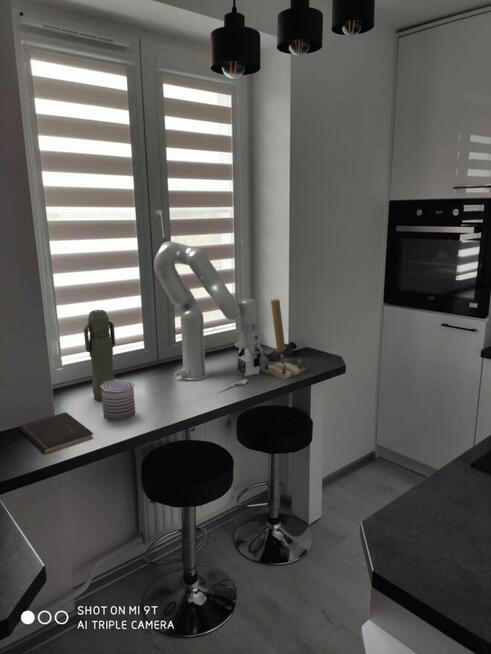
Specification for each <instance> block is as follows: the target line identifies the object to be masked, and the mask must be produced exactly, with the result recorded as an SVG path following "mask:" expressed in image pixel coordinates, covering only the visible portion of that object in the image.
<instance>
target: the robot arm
mask: <svg viewBox="0 0 491 654" xmlns="http://www.w3.org/2000/svg"><path fill="white" fill-rule="evenodd" d="M176 263H177V264H181V265H185V266H189V269H191V271H192V273H193V274H194V275H195V277H196V278H197V280H198V281H199V283H200V284H201V286H202V287H203V288H204V290H205V291H206V293H207V294H208V295H209V296H210V297H211V299H212V300H213V301H214V303H215V304H216V305H217V308H218V309H219V310H220V312H221V313H222V314H223V316H224V317H225V318H226V319H227V320H230V321H234V320H237V319H238V318H239V330H238V336H237V337H238V341H237V342H235V343H234V346H235V349H236V351H237V354H238V357H242V348H245V349H247V350H249V353H251V354H253V355H254V357H255V358H254V367H257V366H259V367H260V366H261V357H262V356H263V354H264V350H265V349H263V347H262V346H261V338H260V334H259V333H260V332H259V330H258V326H257V325H258V323H257V321H258V320H257V301H256V300H255V299H254V298H244V299H243V298H242V299H238V298H237V299H235V298H234V296H233V295H232V293H231V292H230V290H229V289H228V286H226V283H225V282H224V280H223V278H222V277H221V275H220V273H219V272H218V271H217V269H216V268H215V266H214V265H213V263H212V262H211V261H210V259H209V257H208V256H207V254H206V253H205V251H204V250H203V249H201V248H200V247H197V246H192V245H187V244H183V243H179V242H175V241H170V240H169V241H165V242H163V243H162V244H161V245H160V247H159V249H158V251H157V252H156V255H155V257H154V260H153V268H154V272H155V275H156V277H157V279H158V281H159V282H160V284H161V286H162V288H163V290H164V292H165V293H166V296H167V297H168V300H169V301H170V303H171V304H172V305H174V308H175V309H176V311H177V313H178V314H179V316H180V330H181V331H180V332H181V345H182V346H181V347H182V367H181V369H180V370H178V371H175V372H174V373H173V375H174V377H180V379H181V380H184V381H190V382H191V381H193V382H194V381H202V380H205V379H207V378H208V377H209V375H210V373H209V372H208V370H206V364H205V361H206V360H205V337H204V332H205V331H204V324H205V323H204V314H203V311H202V308H201V306H200V305H199V303H198V301H197V299H196V298H195V296H194V295H193V293H192V291H191V289H190V287H189V286H188V284H186V283H184V281H183V279H182V277H181V276H180V274H179V272H178V270H177V268H176Z"/></svg>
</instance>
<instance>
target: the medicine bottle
mask: <svg viewBox="0 0 491 654" xmlns="http://www.w3.org/2000/svg"><path fill="white" fill-rule="evenodd" d="M254 358H255V357H254V355H253V354H251V353H249V350H247V349H245V348H242V357H239V356H238V358H237V363H238V365H237V369H238V370H237V371H238V373H240V374H241V375H243V376H244V377H248V376H253V375H254V376H255V375H258V374H260V366H257V367H254Z"/></svg>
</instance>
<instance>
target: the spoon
mask: <svg viewBox="0 0 491 654" xmlns="http://www.w3.org/2000/svg"><path fill="white" fill-rule="evenodd" d="M247 383H248V379H246V378H244V379H241V380H238V381H236V382H234V383H231V384H230V385H227V386H225V387H223V388H222V389H219V390H217V391H215V392H214V393H215V394H220V393H222V392H225V390H227V389H228V388H229V389H230V388H231V387H232V386H234V385H238V386H244V385H246V384H247Z"/></svg>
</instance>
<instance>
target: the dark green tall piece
mask: <svg viewBox="0 0 491 654" xmlns="http://www.w3.org/2000/svg"><path fill="white" fill-rule="evenodd" d="M83 335H84V336H83V337H84V345H85V351H86V352H87V353H89V357H90V360H91V368H92V370H91V371H92V385H91V386H92V393H93V399H94V400H95V401H97V402H102V391H101V389H102V388H101V387H100V386H101V385H102V384H103V383H104V382H105V381H110V380H115V379H116V377H115V375H114V363H113V355H114V350H113V348H114V347H115V346H116V337H115V336H116V335H115V325H114V323H113V322H112V321H111V320H109V315H108V313H107V311H106V310H104V309H95V310H92V311H90V312H89V314H88V318H87V323H86V324H85V326H84V328H83Z"/></svg>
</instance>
